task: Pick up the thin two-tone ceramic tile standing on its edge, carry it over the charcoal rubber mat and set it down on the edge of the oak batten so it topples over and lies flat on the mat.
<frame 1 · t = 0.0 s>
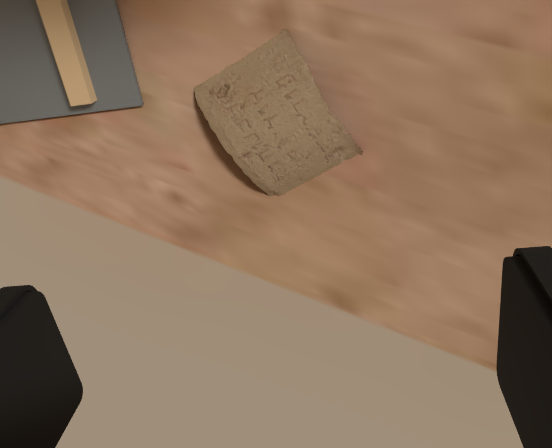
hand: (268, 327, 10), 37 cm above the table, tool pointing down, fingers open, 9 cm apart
mat: (26, 11, 44), on the table
clay tablet: (279, 118, 47), on the table
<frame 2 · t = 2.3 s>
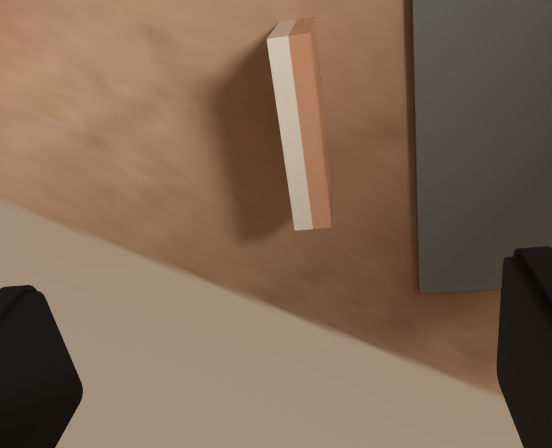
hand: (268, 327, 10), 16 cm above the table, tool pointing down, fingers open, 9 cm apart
tile: (307, 107, 25), on the table
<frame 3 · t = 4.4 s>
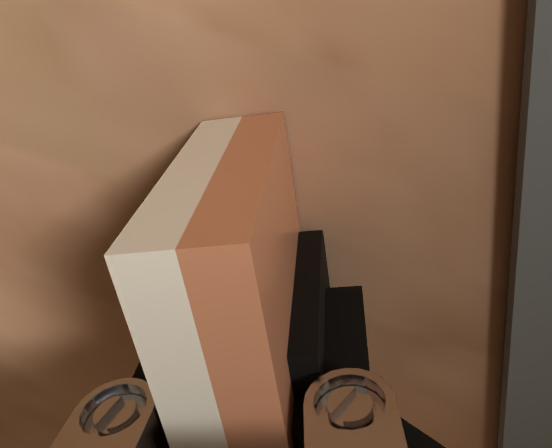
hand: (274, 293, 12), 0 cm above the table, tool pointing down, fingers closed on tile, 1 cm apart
tile: (272, 289, 12), on the table, touching gripper
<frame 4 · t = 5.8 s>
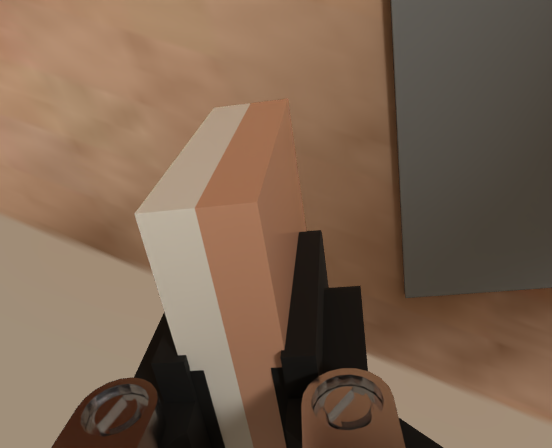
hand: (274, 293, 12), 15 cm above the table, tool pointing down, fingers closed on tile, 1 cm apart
tile: (278, 263, 13), point 14 cm above the table, touching gripper
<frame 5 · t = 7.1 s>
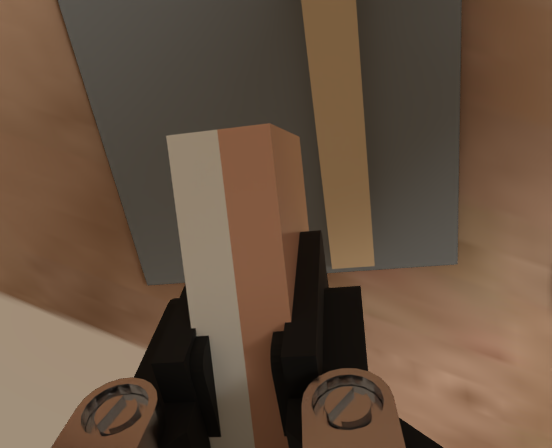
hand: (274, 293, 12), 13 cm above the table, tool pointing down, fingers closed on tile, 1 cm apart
tile: (284, 299, 13), point 12 cm above the table, tilted 21°, touching gripper
mat: (269, 99, 23), on the table
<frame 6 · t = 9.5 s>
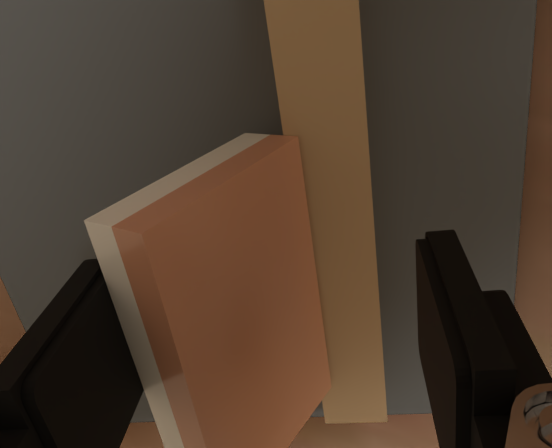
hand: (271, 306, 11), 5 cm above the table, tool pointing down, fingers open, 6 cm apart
tile: (292, 271, 14), point 1 cm above the table, tilted 29°, touching gripper, mat
mat: (228, 186, 15), on the table
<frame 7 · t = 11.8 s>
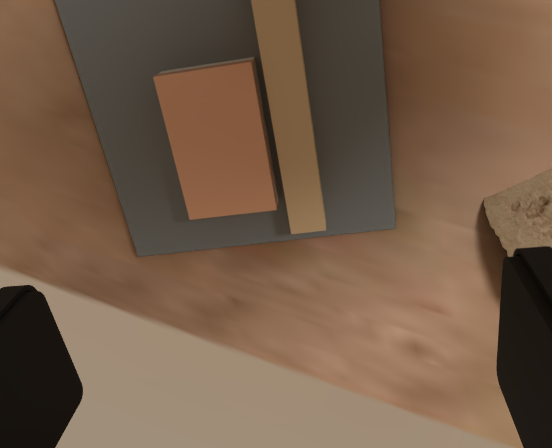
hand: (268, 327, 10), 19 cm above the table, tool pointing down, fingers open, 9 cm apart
tile: (266, 136, 27), point 1 cm above the table, tilted 90°, touching mat
mat: (233, 94, 28), on the table
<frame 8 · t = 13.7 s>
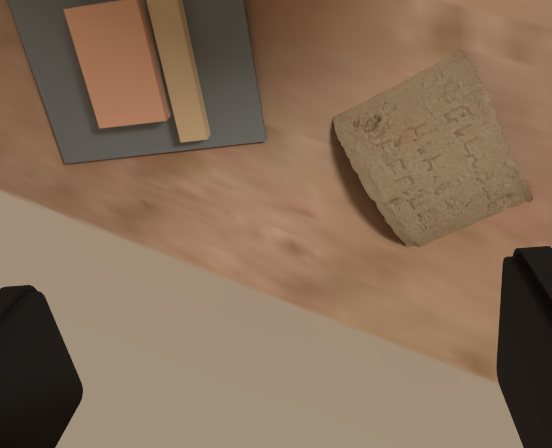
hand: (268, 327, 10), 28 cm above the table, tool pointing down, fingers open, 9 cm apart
tile: (155, 60, 35), point 1 cm above the table, tilted 90°, touching mat
mat: (132, 27, 35), on the table
clay tablet: (431, 156, 39), on the table
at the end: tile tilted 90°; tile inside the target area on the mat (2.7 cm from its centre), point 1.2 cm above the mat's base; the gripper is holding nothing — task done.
